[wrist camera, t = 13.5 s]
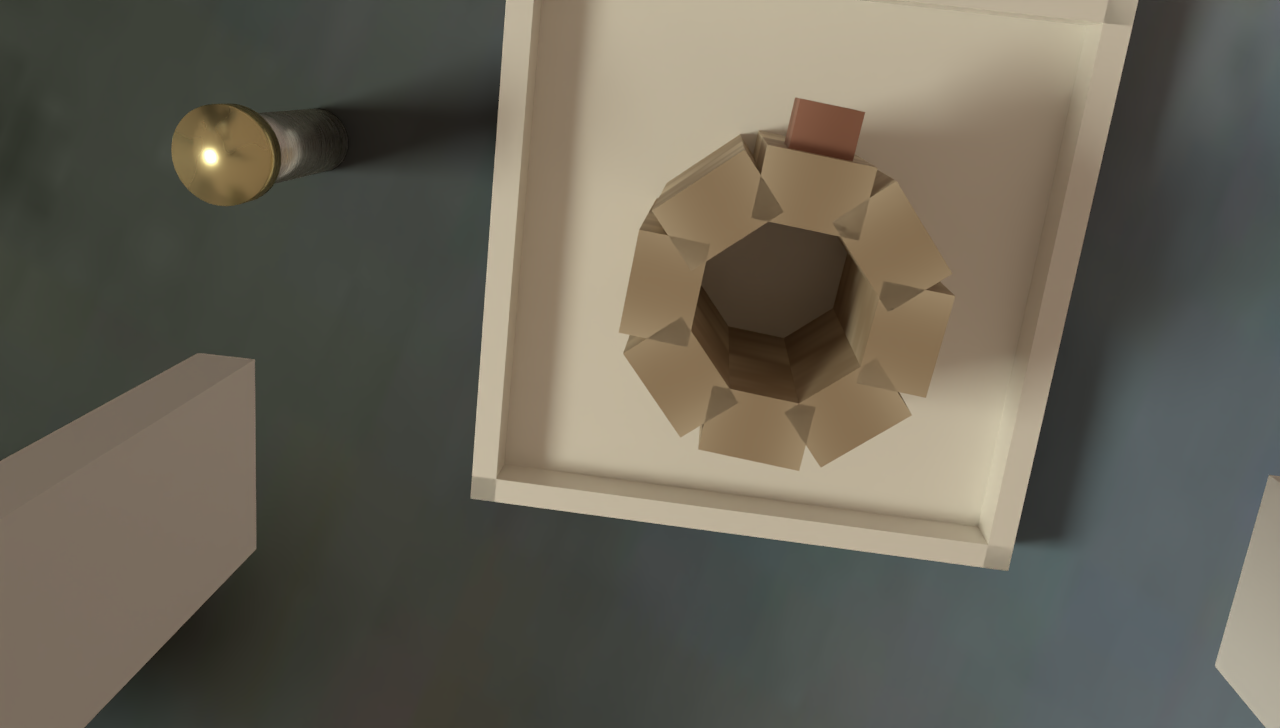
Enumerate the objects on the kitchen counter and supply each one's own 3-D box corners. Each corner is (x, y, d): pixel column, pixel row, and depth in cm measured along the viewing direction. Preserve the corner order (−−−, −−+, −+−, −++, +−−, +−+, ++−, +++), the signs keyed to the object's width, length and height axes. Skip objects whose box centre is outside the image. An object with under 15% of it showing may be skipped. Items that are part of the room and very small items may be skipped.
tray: (524, -64, 32) (511, -73, 30) (1113, 1, 31) (1139, -4, 29) (483, 476, 36) (470, 498, 34) (992, 544, 36) (1008, 570, 34)
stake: (279, 94, 33) (170, 99, 27) (358, 104, 33) (269, 110, 27) (277, 176, 34) (172, 199, 28) (355, 185, 34) (268, 211, 27)
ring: (624, 358, 34) (599, 428, 27) (681, 72, 32) (670, 72, 25) (863, 410, 34) (898, 492, 27) (941, 126, 31) (1000, 140, 25)
